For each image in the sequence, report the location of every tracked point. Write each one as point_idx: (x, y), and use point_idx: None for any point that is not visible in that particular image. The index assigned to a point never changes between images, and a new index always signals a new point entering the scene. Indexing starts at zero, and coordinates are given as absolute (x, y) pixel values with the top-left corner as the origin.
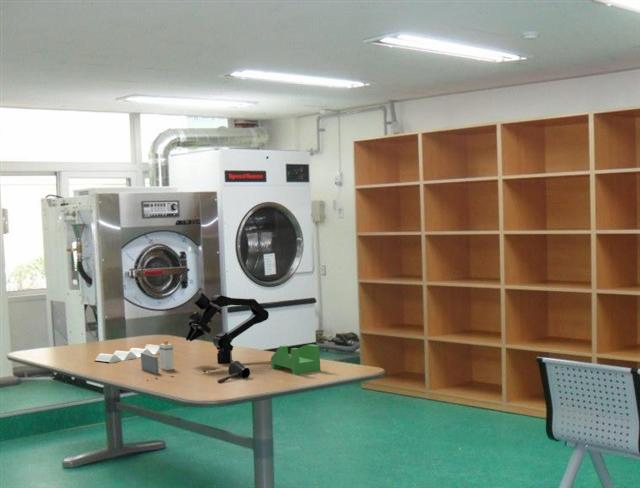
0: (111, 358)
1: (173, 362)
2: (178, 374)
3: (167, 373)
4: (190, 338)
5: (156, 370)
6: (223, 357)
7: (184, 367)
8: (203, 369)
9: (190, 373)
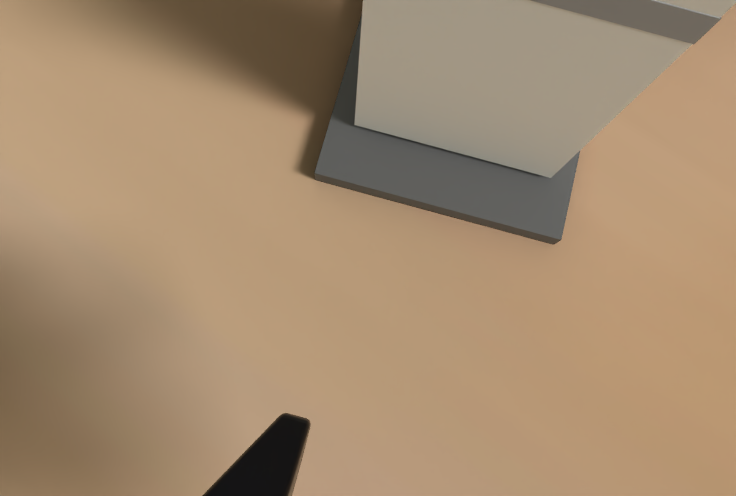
0: None
1: (358, 84)
2: (111, 26)
3: (309, 8)
4: (247, 453)
5: None
6: None
7: (476, 397)
8: (62, 426)
9: (7, 138)
